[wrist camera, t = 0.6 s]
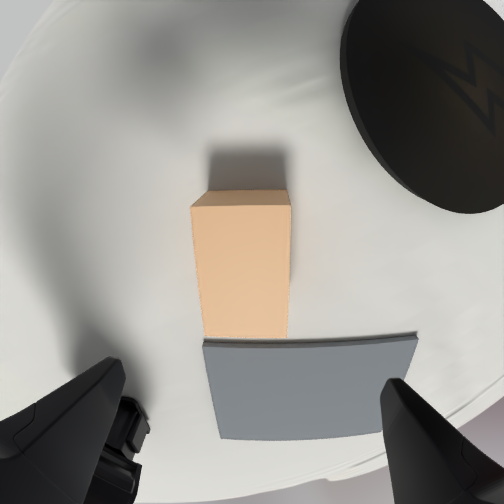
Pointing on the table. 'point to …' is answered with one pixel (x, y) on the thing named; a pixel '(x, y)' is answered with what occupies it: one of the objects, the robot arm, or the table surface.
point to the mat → (303, 387)
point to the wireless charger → (430, 96)
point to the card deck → (243, 262)
